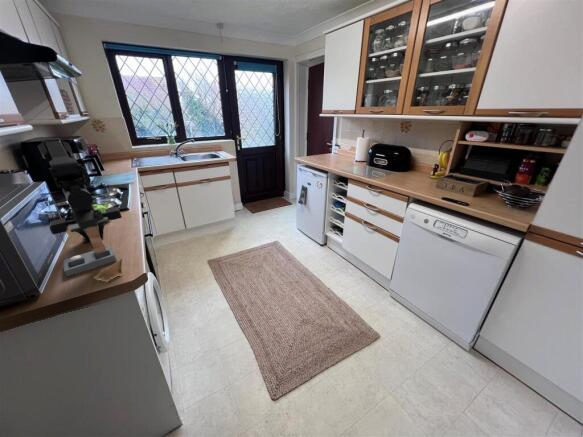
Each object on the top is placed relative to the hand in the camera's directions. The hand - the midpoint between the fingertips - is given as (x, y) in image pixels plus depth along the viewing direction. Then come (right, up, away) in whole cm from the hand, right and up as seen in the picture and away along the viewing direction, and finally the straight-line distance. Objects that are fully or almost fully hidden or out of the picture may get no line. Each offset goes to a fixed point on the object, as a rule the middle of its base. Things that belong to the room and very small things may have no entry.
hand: (96, 240), depth 85 cm
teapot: (-28, +7, +36) cm, 46 cm away
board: (-4, -8, +2) cm, 9 cm away
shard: (+7, -11, -3) cm, 14 cm away
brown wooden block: (0, -2, +1) cm, 2 cm away
